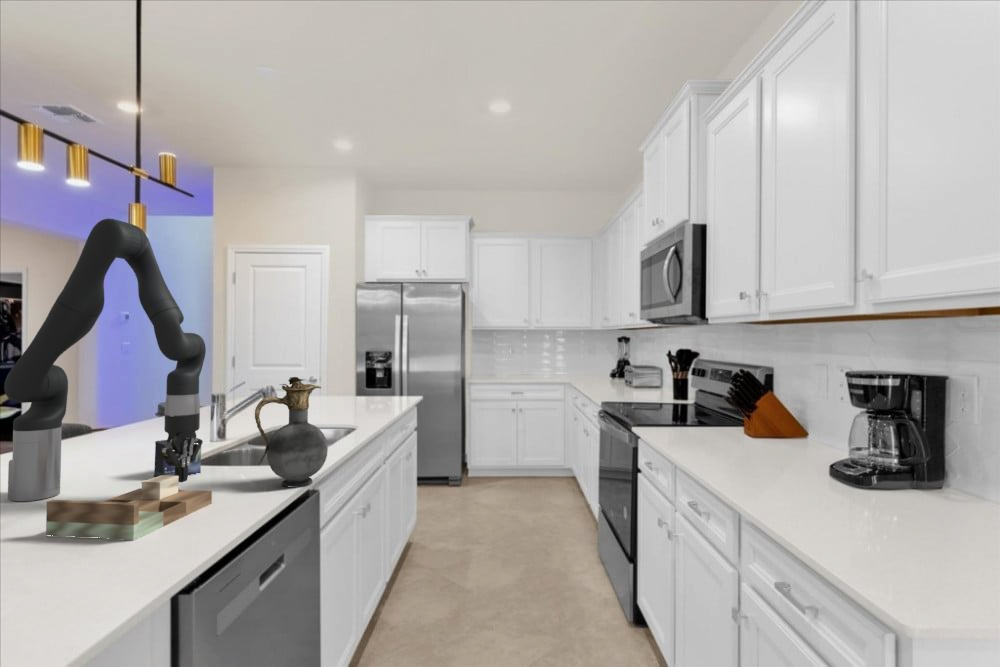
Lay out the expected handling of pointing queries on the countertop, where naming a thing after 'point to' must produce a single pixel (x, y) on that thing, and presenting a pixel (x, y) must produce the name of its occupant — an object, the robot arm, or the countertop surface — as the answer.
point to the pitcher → (294, 437)
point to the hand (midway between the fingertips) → (181, 481)
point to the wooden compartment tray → (121, 514)
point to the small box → (164, 469)
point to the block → (159, 487)
